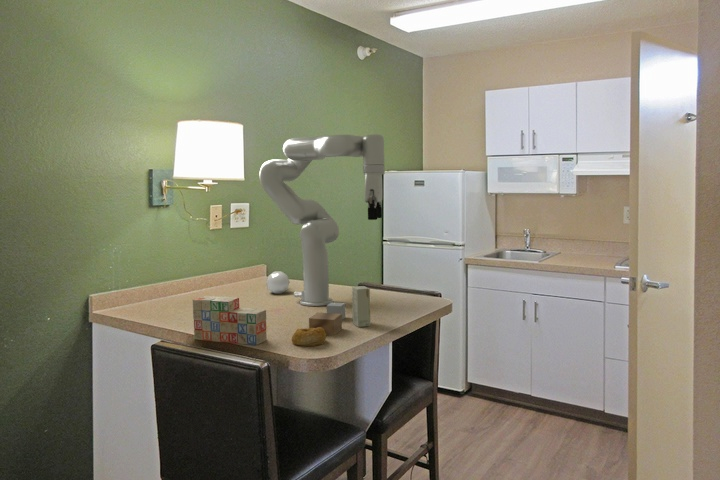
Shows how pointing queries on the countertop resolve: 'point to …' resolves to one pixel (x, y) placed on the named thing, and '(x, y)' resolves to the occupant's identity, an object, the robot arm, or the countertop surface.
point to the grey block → (336, 308)
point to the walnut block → (327, 322)
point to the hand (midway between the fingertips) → (375, 218)
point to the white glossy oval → (277, 282)
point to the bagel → (309, 336)
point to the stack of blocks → (228, 321)
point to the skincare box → (361, 306)
